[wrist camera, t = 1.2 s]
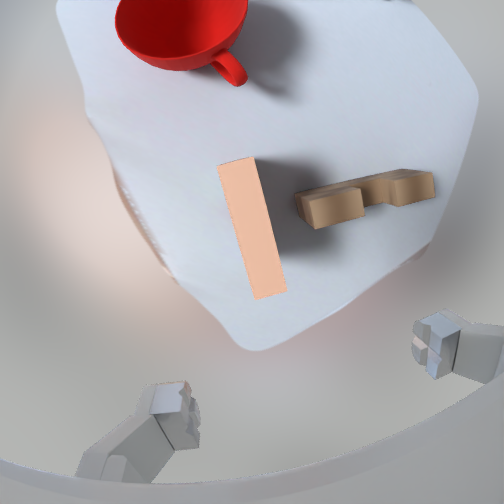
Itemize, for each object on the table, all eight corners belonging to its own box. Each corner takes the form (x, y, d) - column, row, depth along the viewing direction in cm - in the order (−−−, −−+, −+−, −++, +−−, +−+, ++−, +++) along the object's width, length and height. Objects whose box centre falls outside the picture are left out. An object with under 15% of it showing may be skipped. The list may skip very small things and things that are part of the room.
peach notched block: (244, 158, 34) (253, 156, 23) (269, 251, 38) (287, 291, 26) (219, 164, 34) (216, 166, 23) (246, 257, 38) (254, 300, 26)
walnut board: (402, 168, 36) (432, 172, 29) (405, 189, 37) (435, 197, 30) (294, 193, 36) (309, 201, 29) (299, 216, 37) (315, 229, 30)
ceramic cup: (196, 129, 33) (185, 118, 23) (122, 40, 28) (93, 10, 18) (283, 70, 31) (302, 42, 22) (203, -13, 26) (198, -55, 17)
